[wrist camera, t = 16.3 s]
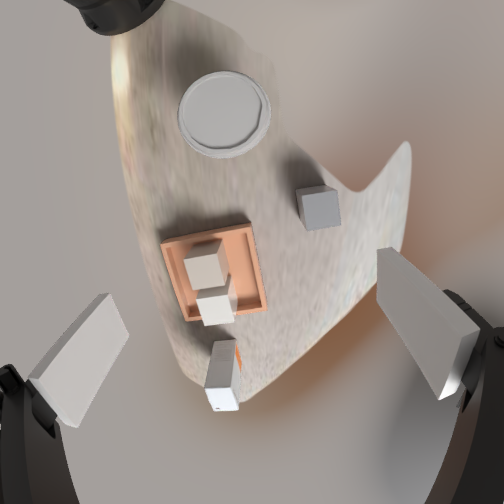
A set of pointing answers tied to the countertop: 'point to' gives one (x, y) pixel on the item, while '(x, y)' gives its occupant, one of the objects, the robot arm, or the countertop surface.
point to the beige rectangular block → (207, 265)
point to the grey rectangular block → (318, 207)
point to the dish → (240, 268)
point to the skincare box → (224, 376)
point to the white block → (218, 303)
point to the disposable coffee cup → (224, 114)
